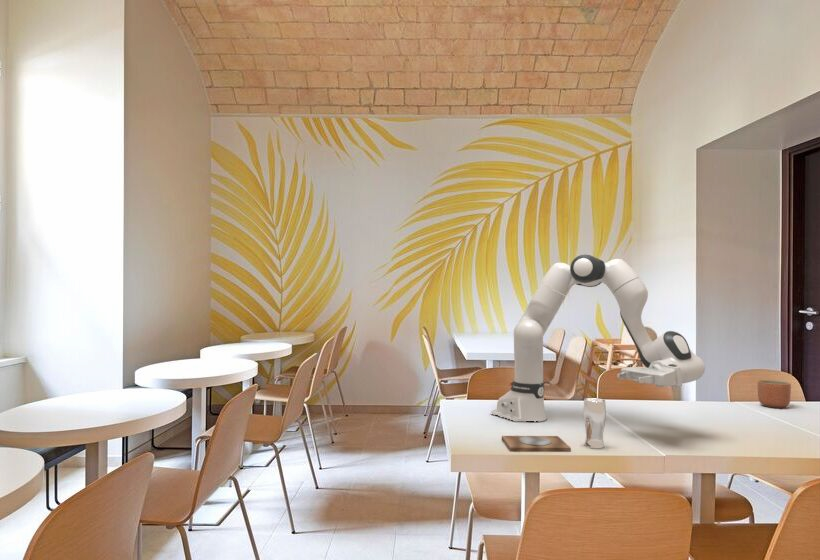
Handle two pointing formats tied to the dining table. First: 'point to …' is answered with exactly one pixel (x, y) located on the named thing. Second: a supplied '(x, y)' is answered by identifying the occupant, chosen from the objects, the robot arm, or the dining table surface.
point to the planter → (774, 393)
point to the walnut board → (536, 443)
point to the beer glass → (594, 422)
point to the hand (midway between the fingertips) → (628, 378)
